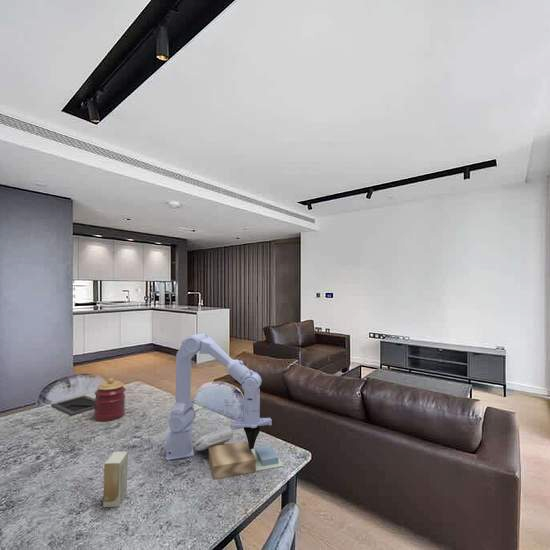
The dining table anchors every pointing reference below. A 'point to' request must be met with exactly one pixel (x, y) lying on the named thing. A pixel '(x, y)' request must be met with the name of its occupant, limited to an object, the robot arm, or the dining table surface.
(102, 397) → the canister
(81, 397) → the picture frame
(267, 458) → the blue box
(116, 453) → the skincare box
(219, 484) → the dining table surface
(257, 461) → the mat
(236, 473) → the light brown flat block
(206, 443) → the photo printer
